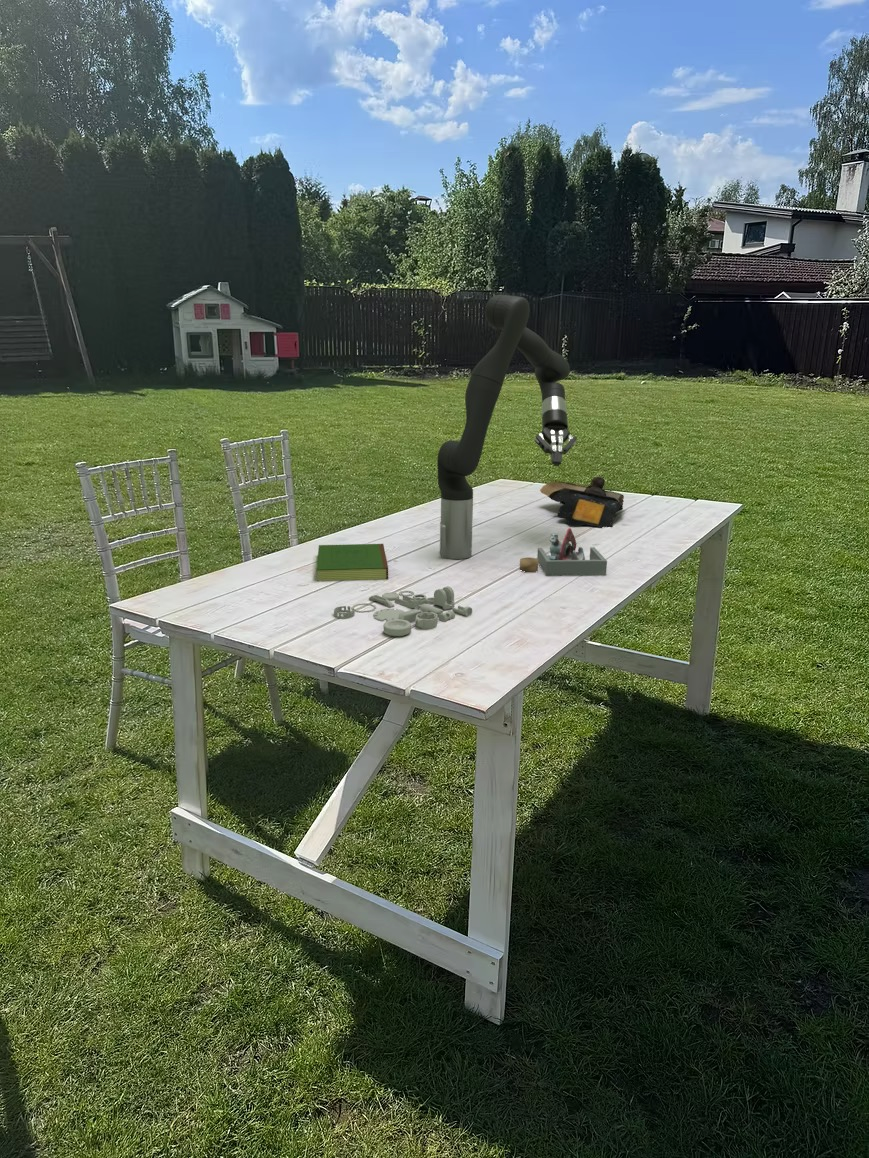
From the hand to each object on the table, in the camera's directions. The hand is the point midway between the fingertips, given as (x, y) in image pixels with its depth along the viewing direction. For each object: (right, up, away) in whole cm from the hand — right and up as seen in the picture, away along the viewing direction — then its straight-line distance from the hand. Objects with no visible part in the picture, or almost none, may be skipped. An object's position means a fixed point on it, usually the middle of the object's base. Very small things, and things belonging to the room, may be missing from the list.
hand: (557, 464), depth 229 cm
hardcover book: (-59, -31, -10) cm, 67 cm away
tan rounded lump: (-10, -31, -12) cm, 35 cm away
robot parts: (-44, -42, -45) cm, 76 cm away
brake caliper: (+1, -30, -8) cm, 31 cm away
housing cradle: (+2, -30, -10) cm, 32 cm away
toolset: (+16, -11, +53) cm, 56 cm away
